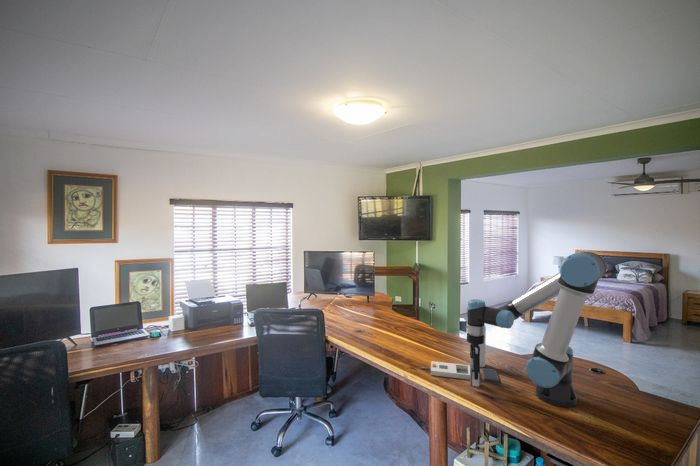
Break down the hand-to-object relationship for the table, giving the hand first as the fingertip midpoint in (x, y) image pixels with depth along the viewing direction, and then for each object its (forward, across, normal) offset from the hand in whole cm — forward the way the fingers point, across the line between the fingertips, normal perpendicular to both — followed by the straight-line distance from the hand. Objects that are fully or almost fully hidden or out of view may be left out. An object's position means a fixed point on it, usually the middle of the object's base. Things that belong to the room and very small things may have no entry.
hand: (474, 379), depth 156 cm
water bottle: (+3, -24, +3) cm, 24 cm away
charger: (+2, 0, 0) cm, 2 cm away
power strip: (+2, -10, -11) cm, 15 cm away
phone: (+3, -11, +8) cm, 14 cm away
